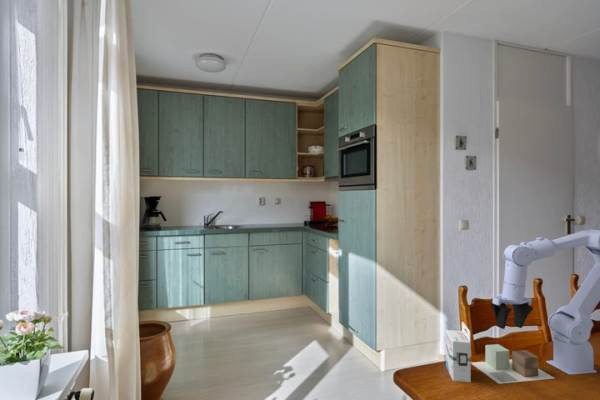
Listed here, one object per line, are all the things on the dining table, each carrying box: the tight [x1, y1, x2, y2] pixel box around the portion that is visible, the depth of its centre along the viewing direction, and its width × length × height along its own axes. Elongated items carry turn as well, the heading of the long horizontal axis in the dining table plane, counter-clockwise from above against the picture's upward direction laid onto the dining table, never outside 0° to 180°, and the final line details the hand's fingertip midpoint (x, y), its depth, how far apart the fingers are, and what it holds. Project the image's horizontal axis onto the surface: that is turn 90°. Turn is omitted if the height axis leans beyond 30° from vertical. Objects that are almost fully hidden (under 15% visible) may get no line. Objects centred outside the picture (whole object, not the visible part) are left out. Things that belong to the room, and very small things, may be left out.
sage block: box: [484, 343, 510, 370], centre depth 101 cm, size 4×4×6 cm
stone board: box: [471, 358, 555, 385], centre depth 99 cm, size 18×12×1 cm, turn 99°
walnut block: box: [511, 349, 539, 377], centre depth 97 cm, size 4×4×6 cm
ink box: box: [445, 321, 472, 383], centre depth 97 cm, size 9×5×15 cm, turn 168°
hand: (509, 327), depth 102 cm, fingers open, 7 cm apart
